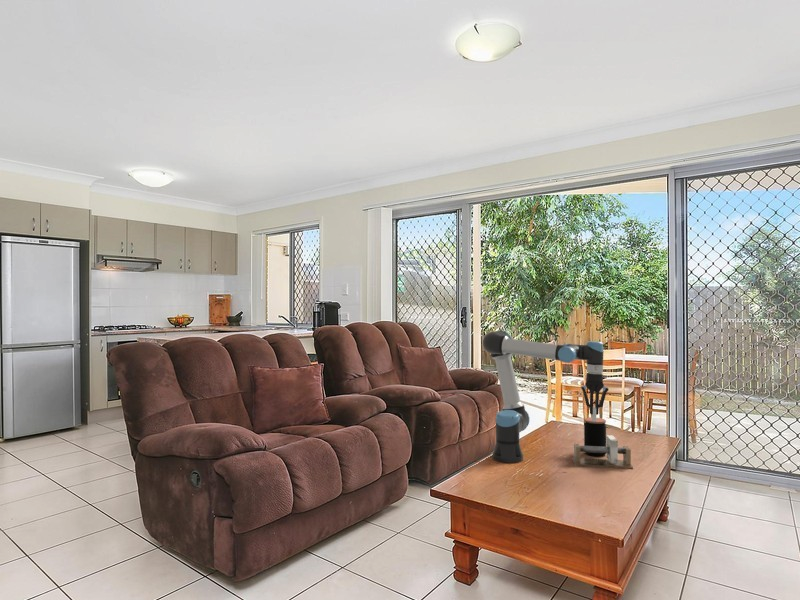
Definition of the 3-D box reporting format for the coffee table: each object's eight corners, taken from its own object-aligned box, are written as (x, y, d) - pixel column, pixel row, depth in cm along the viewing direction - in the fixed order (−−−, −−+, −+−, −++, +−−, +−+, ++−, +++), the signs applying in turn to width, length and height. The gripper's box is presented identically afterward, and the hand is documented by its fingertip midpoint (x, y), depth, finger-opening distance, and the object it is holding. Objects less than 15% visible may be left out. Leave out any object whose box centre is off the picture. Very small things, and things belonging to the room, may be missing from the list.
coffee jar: (602, 451, 270) (602, 417, 270) (608, 457, 259) (608, 422, 259) (582, 451, 271) (581, 417, 271) (587, 456, 260) (587, 421, 260)
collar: (611, 463, 243) (610, 440, 243) (606, 457, 253) (606, 435, 253) (617, 463, 242) (617, 440, 242) (613, 457, 252) (612, 435, 252)
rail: (575, 465, 246) (575, 447, 246) (572, 459, 256) (572, 442, 256) (633, 468, 241) (632, 450, 241) (627, 462, 251) (627, 444, 251)
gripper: (582, 373, 247) (581, 422, 247) (610, 374, 244) (609, 423, 244) (579, 371, 254) (578, 418, 254) (607, 372, 252) (606, 420, 252)
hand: (593, 421), depth 249 cm, fingers closed
